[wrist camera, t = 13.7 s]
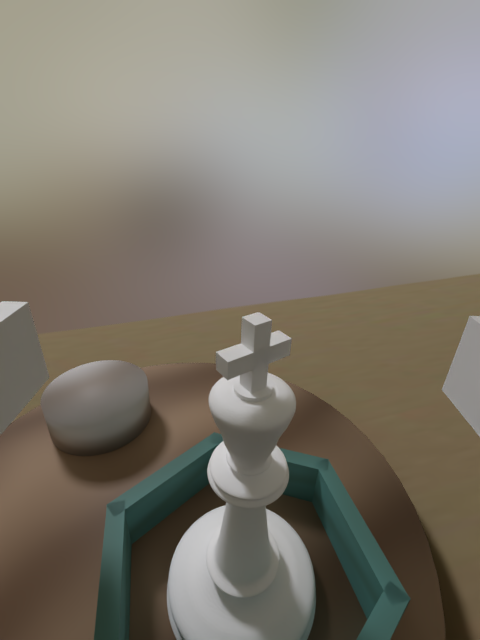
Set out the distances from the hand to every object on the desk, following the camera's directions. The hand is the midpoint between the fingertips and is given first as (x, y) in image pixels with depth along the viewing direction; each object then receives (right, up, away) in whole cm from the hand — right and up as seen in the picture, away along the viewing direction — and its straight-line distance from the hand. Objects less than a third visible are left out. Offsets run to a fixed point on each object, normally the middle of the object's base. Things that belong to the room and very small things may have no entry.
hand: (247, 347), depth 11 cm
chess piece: (0, -8, +1) cm, 8 cm away
